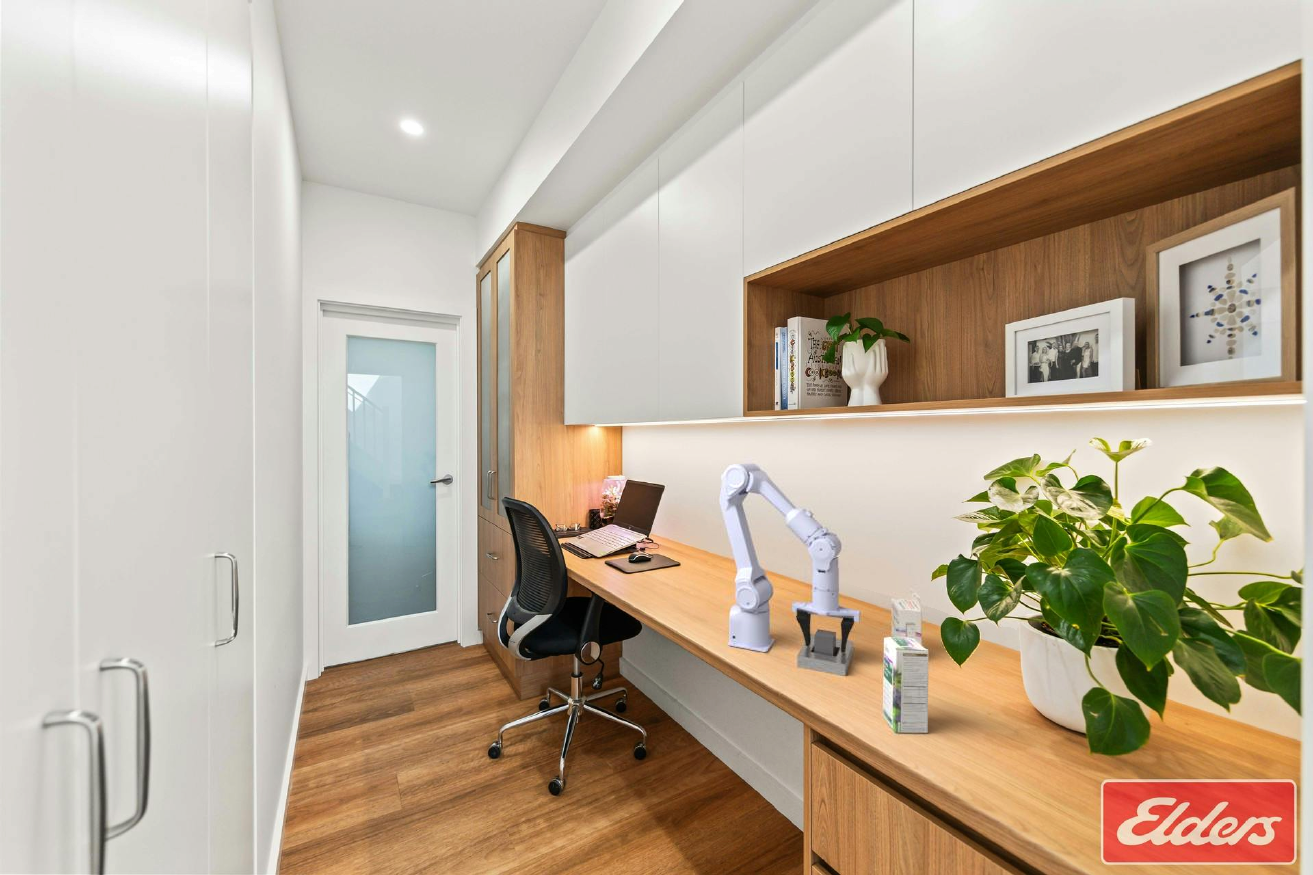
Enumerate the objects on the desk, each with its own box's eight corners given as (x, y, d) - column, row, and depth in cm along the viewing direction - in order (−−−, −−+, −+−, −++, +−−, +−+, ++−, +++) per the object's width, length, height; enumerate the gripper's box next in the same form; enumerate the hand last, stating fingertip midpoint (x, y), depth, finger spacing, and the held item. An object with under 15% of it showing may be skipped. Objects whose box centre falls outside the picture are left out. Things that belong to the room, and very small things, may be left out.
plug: (814, 661, 119) (814, 634, 119) (817, 655, 122) (817, 629, 122) (833, 665, 117) (833, 638, 117) (836, 658, 120) (835, 631, 120)
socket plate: (797, 666, 117) (797, 653, 117) (809, 644, 129) (809, 632, 129) (845, 676, 112) (845, 662, 112) (853, 651, 125) (853, 639, 125)
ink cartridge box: (890, 646, 128) (890, 585, 128) (912, 647, 127) (912, 586, 127) (898, 661, 119) (898, 595, 119) (922, 663, 118) (922, 597, 118)
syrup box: (881, 716, 96) (881, 636, 96) (914, 716, 96) (914, 636, 96) (894, 733, 90) (894, 648, 90) (930, 734, 90) (929, 649, 90)
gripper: (788, 588, 119) (789, 648, 119) (857, 596, 113) (857, 660, 113) (795, 580, 126) (796, 637, 126) (861, 588, 119) (861, 648, 119)
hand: (825, 647), depth 120 cm, fingers open, 7 cm apart
